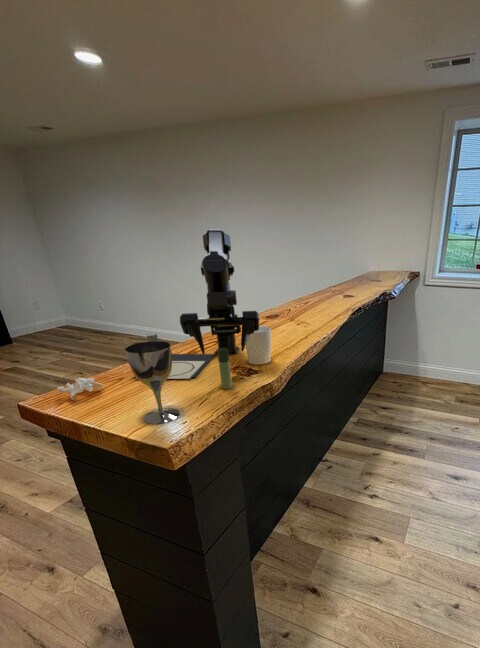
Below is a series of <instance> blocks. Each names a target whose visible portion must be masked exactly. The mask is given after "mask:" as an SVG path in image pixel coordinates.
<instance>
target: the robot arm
mask: <svg viewBox="0 0 480 648" xmlns="http://www.w3.org/2000/svg"><path fill="white" fill-rule="evenodd" d="M202 243H203V244H202V245H203V250H204V252H206V253H205V254H204V257H203V258H202V261H201V265H200V273H201V276H202V277H204V279H205V284H206V286H207V287H206V288H207V289H206V290H207V293H206V312H207V313H206V314H207V316H208V317H199V316H198V313H197V312H190V313H189V312H188V313H186V312H185V313H181V315H180V316H179V324H180V327H181V329H182V332H183V334H184V335H188V336H189V337H191V338H194V339H195V341H196V342H197V344H198V346H199V348H200V351H201V353H202V354H206V353H205V352H206V351H205V344H204V339H203V335H202V330H201V327H202V328H203V327H210V331H211V336H216V340H217V349H219V348H228V353H229V355H230V354H231V355H235V354H236V353H237V352H238V351H239V350H240V347H241V352H244V351H245V349H246V342H247V339H248V337H249V336H250V334H253V333H254V331H257V330H259V326H260V316H259V315H260V314H259V312H258V311H257V310H242V312H241V313H242V316H238V314H236V312H235V307H234V306H237V305H238V303H237V291H236V290H234V289H233V290H232V289H231V284H230V280H231V277H233V275H234V272H235V266H234V265H233V264H232V262H229V260H230V258H231V257H230V252H232V245H231V243H232V242H231V236H230V235H229V234H228V233H226V232H225V231H224V229H221V228H208V229H206V233H204V234H203V235H202ZM240 333H241V336H240V337H241V339H240V347H239V346H237V342H236V341H237V340H236V335H238V334H240ZM214 354H215V355H218V352H217V350H216V351H214Z"/></svg>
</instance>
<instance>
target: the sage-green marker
mask: <svg viewBox="0 0 480 648" xmlns="http://www.w3.org/2000/svg"><path fill="white" fill-rule="evenodd" d="M216 351H217V352H218V354H217V360H218V365H219V374H220V375H219V376H220V384H221V389H223V390H229V389H230V390H231V389H232V387H233V384H232V375H231V367H230V354H229V353H228V348H219V349H218V348H217V349H216Z"/></svg>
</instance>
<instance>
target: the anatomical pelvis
mask: <svg viewBox="0 0 480 648" xmlns="http://www.w3.org/2000/svg"><path fill="white" fill-rule="evenodd" d="M74 382H75V384H74V383H72V384H70V383H69V382H67V383H66V384H65V386H66V387H67V388H65V387H64V386H63V385H62V386H59V387H56V390H57V392H59V393H67V394H69V398H70V399H71V400H72V401H74V400H75V399H74V397H75V396H76V395H77V394H81V393H83V392H84V391H87V392H93V391H94V389H96V390H97V391H100V390H101V389H103V387H104V385H103V383H100V382H96V381H95V379H94V378H92V377H89V378H85V377H78V378H76V379H75V381H74ZM63 388H64V389H63Z"/></svg>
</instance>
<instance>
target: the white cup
mask: <svg viewBox="0 0 480 648" xmlns="http://www.w3.org/2000/svg"><path fill="white" fill-rule="evenodd" d="M245 351H246V355H247V363H248V364H250V365H257V366H258V365H260V366H261V365H267V364H269V363H270V362H271V360H272V359H271V351H272V328H271V327H270V326H265V325H259V330H257V331H254V333H253V334H250V336H249V337H248V339H247V342H246V345H245Z"/></svg>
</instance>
